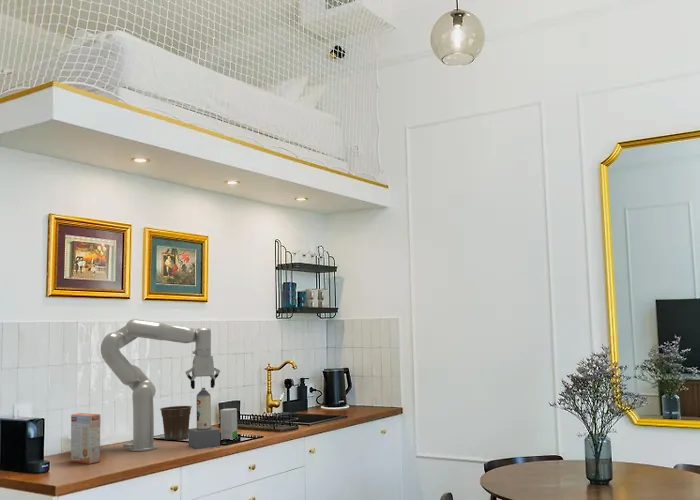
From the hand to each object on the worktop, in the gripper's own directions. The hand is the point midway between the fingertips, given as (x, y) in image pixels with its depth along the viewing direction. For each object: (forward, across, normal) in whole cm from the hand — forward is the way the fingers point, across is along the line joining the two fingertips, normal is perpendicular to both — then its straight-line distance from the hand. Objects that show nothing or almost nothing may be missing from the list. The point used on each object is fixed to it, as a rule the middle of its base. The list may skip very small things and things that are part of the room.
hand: (202, 388), depth 349 cm
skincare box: (+28, +17, +10) cm, 34 cm away
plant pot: (+28, -4, +33) cm, 44 cm away
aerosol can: (+20, +1, 0) cm, 20 cm away
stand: (+28, +1, 0) cm, 28 cm away
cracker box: (+29, -55, -7) cm, 63 cm away
